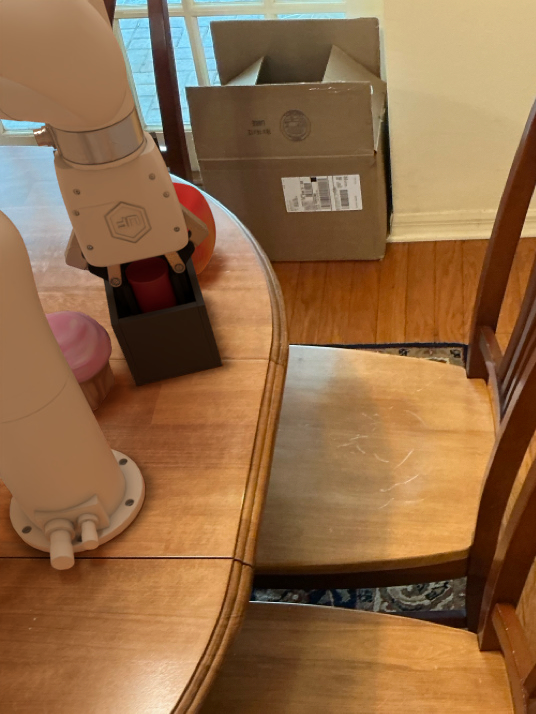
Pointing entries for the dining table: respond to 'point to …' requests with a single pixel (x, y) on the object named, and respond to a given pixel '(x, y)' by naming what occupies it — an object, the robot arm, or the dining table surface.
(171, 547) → the dining table surface
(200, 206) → the apple
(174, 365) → the open square bin
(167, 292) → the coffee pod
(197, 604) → the dining table surface
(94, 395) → the cupcake
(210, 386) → the dining table surface
